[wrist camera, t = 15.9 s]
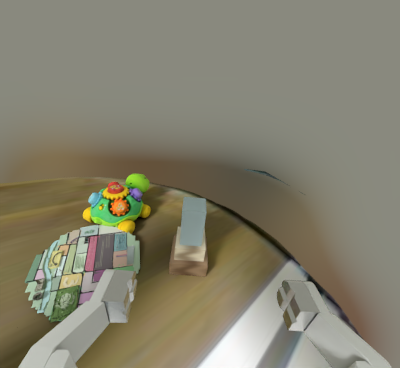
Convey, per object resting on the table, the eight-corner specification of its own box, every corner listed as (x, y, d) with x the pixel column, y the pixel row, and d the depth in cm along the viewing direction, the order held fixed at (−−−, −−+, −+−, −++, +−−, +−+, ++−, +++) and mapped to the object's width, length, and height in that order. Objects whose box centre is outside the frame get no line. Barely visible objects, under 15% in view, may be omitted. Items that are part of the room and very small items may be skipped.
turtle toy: (163, 202, 71) (164, 174, 65) (123, 246, 51) (119, 211, 46) (125, 191, 75) (123, 164, 69) (74, 227, 55) (64, 194, 49)
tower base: (169, 274, 45) (169, 251, 41) (173, 245, 53) (174, 223, 49) (205, 276, 46) (210, 253, 42) (204, 247, 54) (208, 226, 50)
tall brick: (179, 244, 43) (182, 210, 38) (181, 229, 48) (183, 196, 43) (201, 246, 44) (206, 212, 39) (200, 231, 48) (205, 198, 43)
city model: (24, 367, 31) (10, 355, 27) (16, 257, 44) (7, 241, 41) (160, 283, 46) (162, 269, 43) (123, 221, 59) (123, 207, 56)
